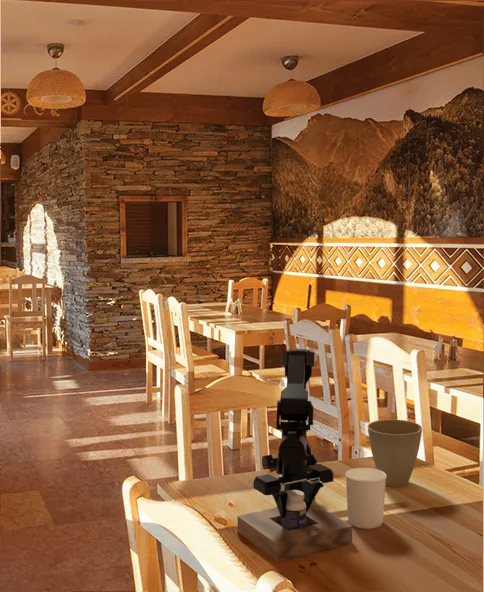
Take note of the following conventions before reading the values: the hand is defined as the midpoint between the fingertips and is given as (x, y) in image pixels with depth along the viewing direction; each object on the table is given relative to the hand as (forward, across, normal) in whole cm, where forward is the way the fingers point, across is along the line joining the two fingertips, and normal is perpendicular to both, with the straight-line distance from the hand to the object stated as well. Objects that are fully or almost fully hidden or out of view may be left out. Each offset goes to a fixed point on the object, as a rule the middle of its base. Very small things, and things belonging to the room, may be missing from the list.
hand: (293, 514), depth 181 cm
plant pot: (+6, -44, -17) cm, 47 cm away
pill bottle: (+5, 0, 0) cm, 5 cm away
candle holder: (+6, -20, +1) cm, 21 cm away
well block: (+5, 0, 0) cm, 5 cm away
